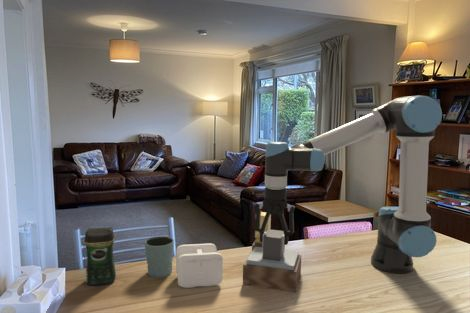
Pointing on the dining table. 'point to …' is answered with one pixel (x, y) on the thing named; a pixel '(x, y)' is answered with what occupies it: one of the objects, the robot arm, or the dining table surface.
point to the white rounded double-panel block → (198, 265)
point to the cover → (273, 253)
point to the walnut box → (271, 275)
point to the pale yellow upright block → (257, 234)
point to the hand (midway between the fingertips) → (273, 251)
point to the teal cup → (159, 256)
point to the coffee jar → (100, 256)
